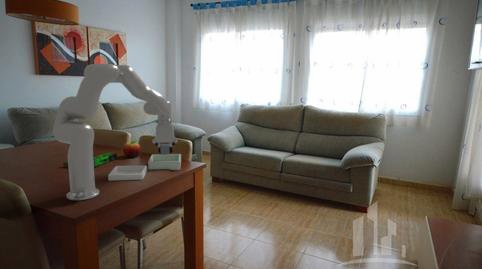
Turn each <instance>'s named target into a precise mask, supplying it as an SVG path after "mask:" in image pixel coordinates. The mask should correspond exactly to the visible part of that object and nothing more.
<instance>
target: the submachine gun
mask: <svg viewBox="0 0 482 269" xmlns="http://www.w3.org/2000/svg"><path fill="white" fill-rule="evenodd" d="M118 155H119V153H118V152H104V154H100V155H93V161H94V168H96V167H98V166H101V165H103V164H106V163H108V162H110V161H115V160H117V159H119V158H120V157H118ZM62 166H63V168H69V167H68V161H63V162H62Z"/></svg>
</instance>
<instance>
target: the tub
mask: <svg viewBox="0 0 482 269" xmlns="http://www.w3.org/2000/svg"><path fill="white" fill-rule="evenodd" d="M147 171H148V164H147V165H145V164H144V165H116V166H115V167H114V168H113V169H112V170H111V171H110V172H109V174H107V177H108V181H134V180H135V181H137V180H143V179H144V178H145V176H146V174H147Z"/></svg>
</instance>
